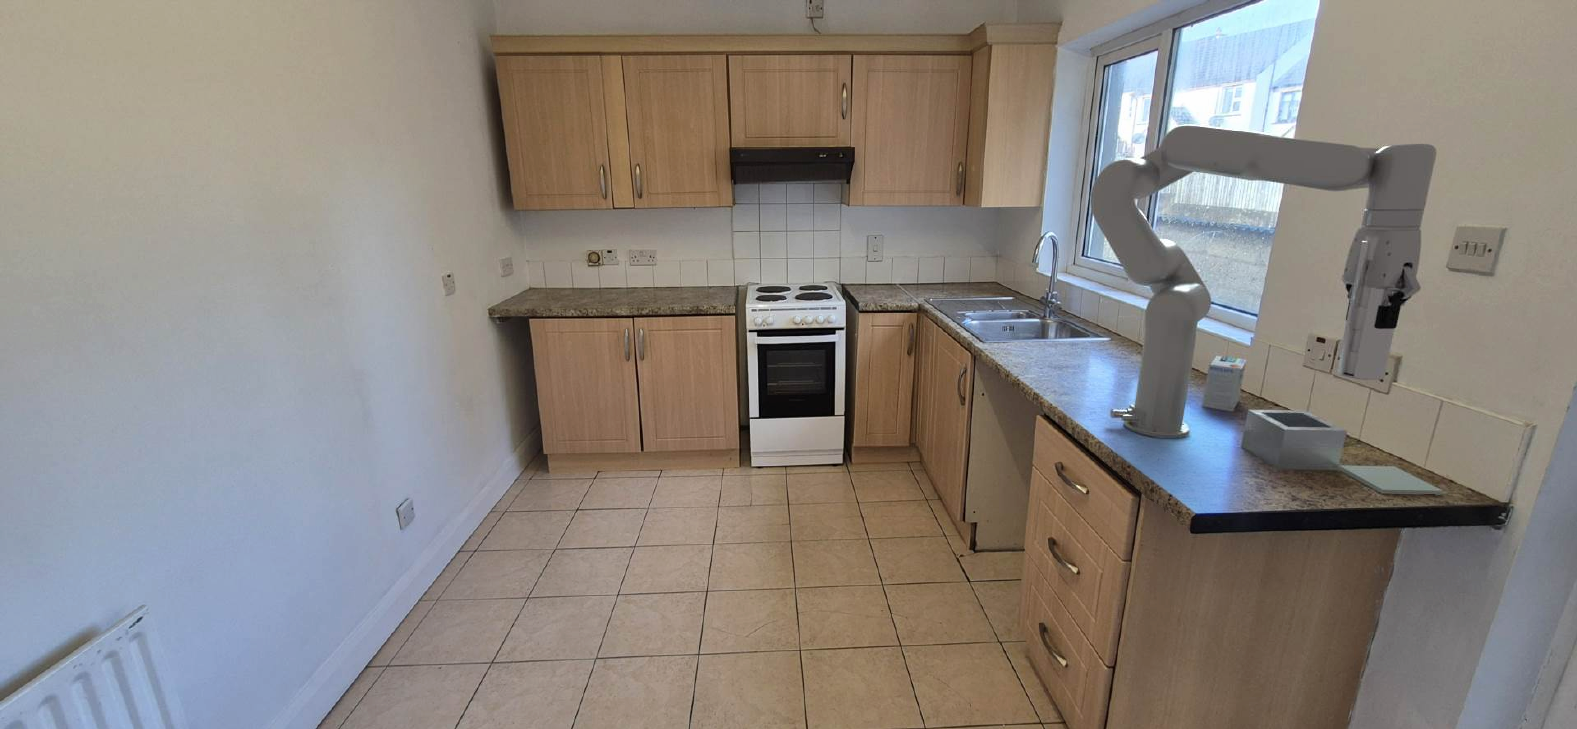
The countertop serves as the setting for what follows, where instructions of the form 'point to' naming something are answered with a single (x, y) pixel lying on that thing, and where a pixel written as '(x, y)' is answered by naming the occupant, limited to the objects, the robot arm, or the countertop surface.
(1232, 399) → the light bulb box
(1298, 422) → the housing
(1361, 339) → the silver tall cylinder
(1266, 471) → the countertop surface
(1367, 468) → the mat
